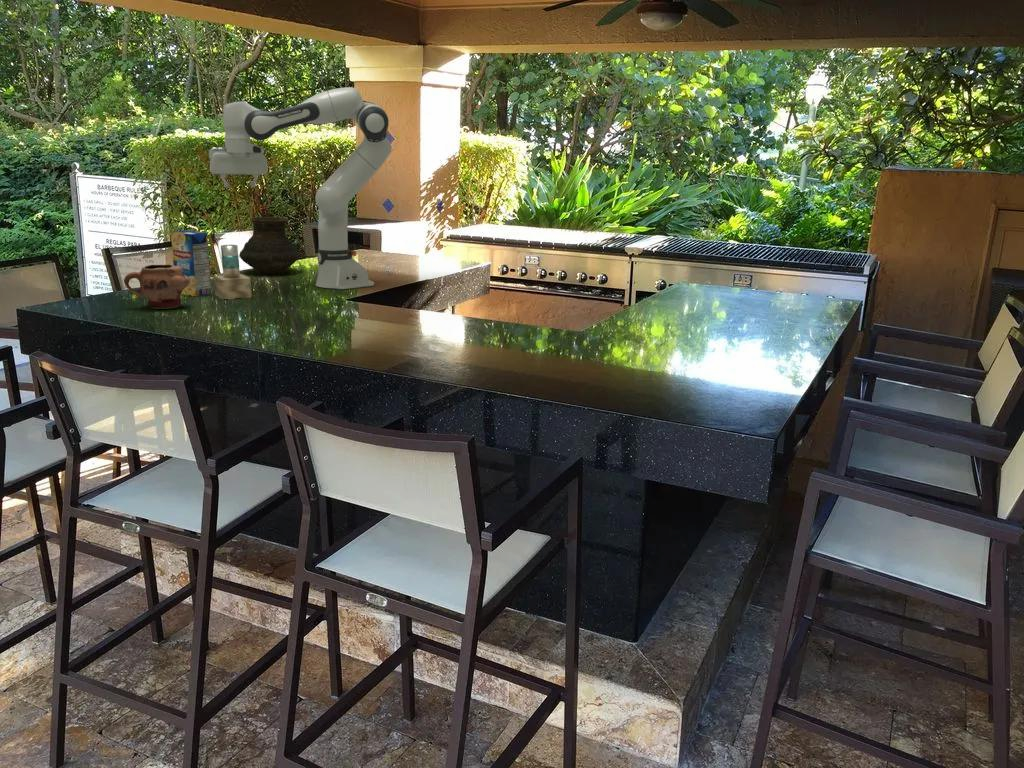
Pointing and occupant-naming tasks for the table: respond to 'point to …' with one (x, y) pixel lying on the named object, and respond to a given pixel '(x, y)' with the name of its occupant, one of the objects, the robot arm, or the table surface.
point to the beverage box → (192, 260)
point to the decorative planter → (160, 285)
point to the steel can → (230, 261)
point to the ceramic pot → (269, 246)
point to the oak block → (232, 287)
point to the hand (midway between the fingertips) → (240, 187)
